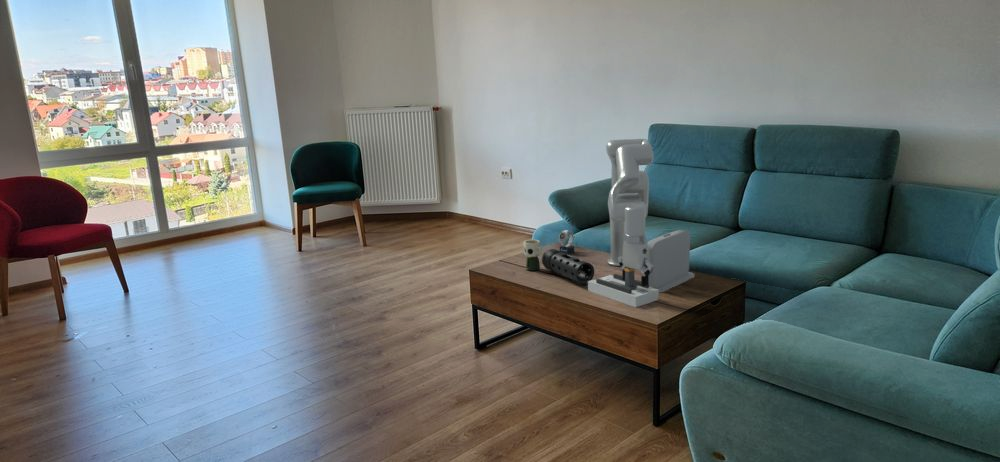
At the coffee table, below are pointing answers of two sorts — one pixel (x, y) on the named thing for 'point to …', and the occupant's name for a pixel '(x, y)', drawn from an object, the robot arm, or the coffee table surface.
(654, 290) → the breaker panel
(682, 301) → the coffee table surface
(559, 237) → the watch
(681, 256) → the wireless router
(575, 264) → the muzzle brake
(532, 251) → the character mug
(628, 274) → the toggle
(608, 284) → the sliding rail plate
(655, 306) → the coffee table surface
